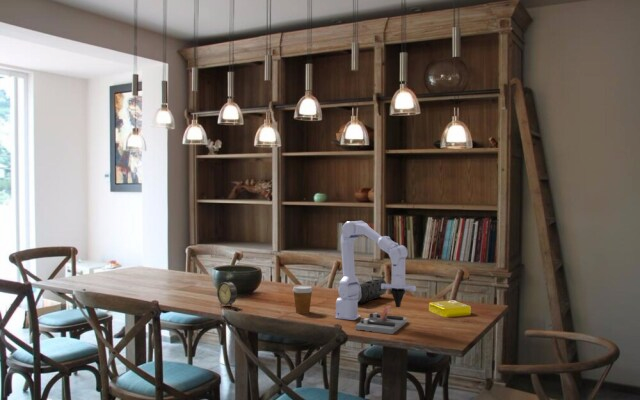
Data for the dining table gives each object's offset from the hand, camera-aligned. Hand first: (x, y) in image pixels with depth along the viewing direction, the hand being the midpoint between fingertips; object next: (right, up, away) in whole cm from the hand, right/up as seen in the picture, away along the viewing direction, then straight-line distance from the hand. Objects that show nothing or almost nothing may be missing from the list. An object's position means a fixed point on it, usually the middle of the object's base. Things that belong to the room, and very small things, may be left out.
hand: (398, 306), depth 243 cm
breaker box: (-6, -9, +3) cm, 11 cm away
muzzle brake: (-9, -8, +55) cm, 56 cm away
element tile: (+28, -9, +29) cm, 42 cm away
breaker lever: (-6, -6, +3) cm, 9 cm away
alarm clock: (-78, -8, +41) cm, 89 cm away
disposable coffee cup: (-41, -8, +29) cm, 51 cm away
